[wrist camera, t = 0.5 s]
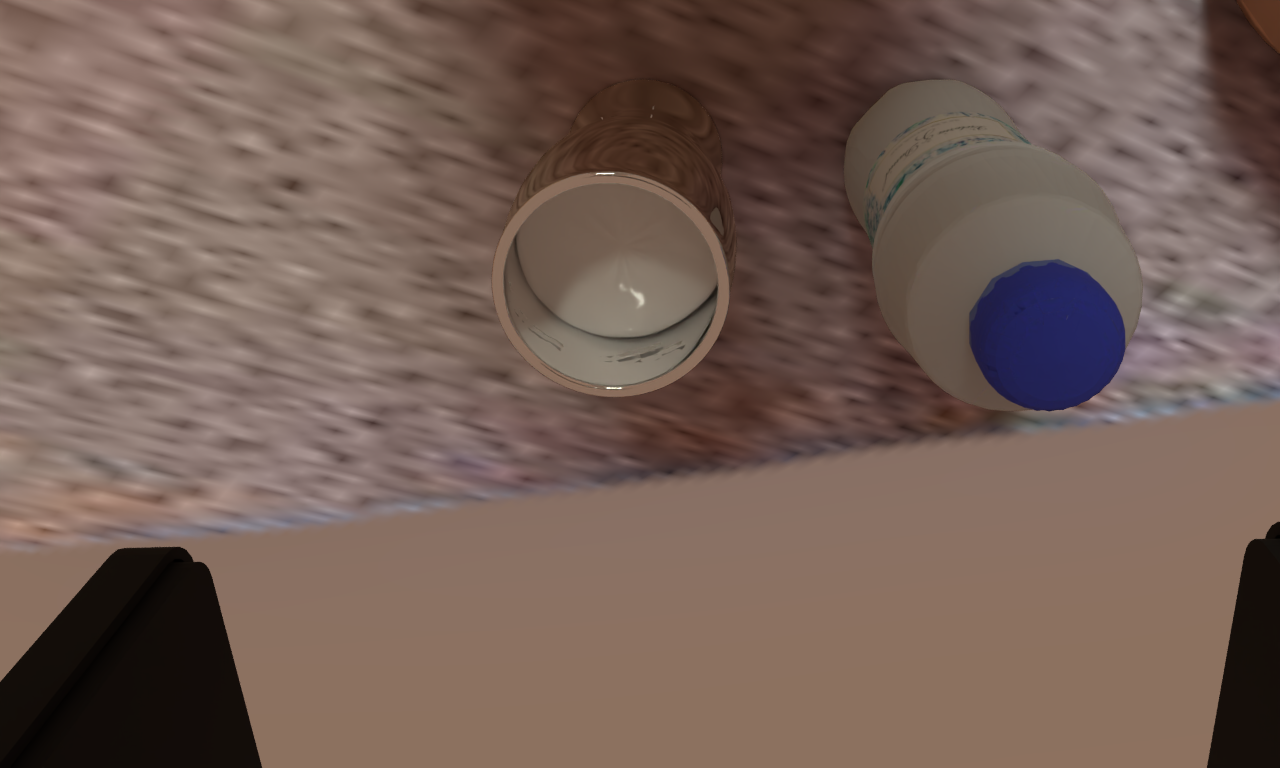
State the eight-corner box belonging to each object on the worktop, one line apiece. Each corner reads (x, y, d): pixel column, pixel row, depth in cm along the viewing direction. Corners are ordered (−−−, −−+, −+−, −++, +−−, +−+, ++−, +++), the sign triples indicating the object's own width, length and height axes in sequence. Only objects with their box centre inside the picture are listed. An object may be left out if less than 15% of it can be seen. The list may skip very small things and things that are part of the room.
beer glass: (767, 183, 45) (786, 326, 32) (620, 274, 47) (579, 446, 34) (669, 29, 43) (644, 111, 29) (520, 131, 45) (431, 253, 31)
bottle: (975, 31, 42) (1165, 167, 24) (1034, 193, 45) (1248, 427, 26) (805, 112, 44) (863, 295, 26) (871, 263, 46) (967, 530, 28)
